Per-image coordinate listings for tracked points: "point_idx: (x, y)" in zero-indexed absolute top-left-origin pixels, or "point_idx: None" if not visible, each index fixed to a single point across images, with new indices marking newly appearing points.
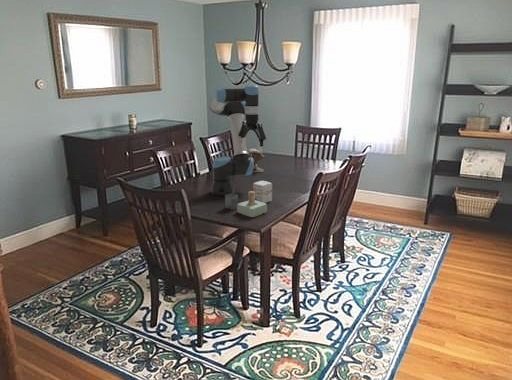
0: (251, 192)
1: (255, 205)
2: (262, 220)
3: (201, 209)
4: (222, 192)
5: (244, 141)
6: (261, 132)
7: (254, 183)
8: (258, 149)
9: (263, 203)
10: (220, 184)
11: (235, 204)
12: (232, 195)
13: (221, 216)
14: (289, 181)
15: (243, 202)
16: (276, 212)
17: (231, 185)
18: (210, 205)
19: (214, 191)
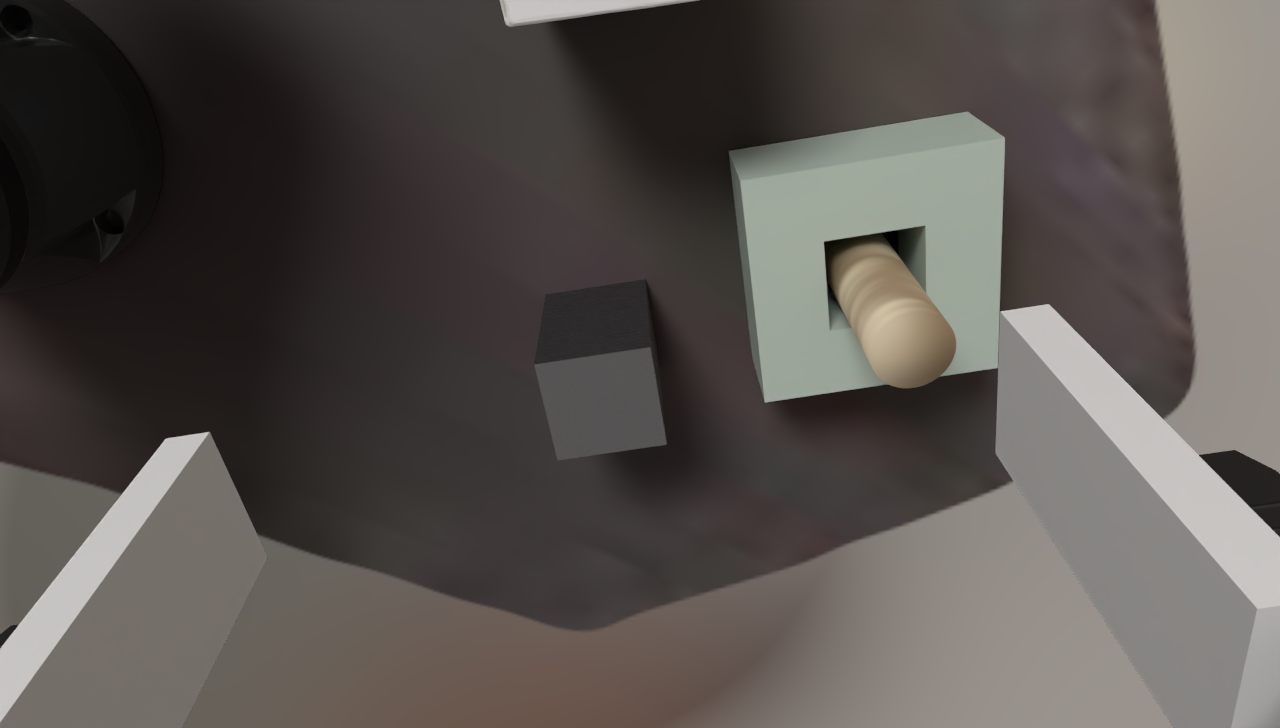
0: (919, 357)
1: (941, 279)
2: (1091, 290)
3: (480, 553)
4: (135, 217)
5: (112, 699)
6: None
7: (533, 21)
8: (1042, 510)
9: (959, 163)
10: (40, 258)
11: (653, 339)
12: (625, 407)
13: (744, 507)
14: None
15: (766, 325)
16: (1052, 23)
17: (30, 71)
18: (418, 453)
19: (62, 282)
